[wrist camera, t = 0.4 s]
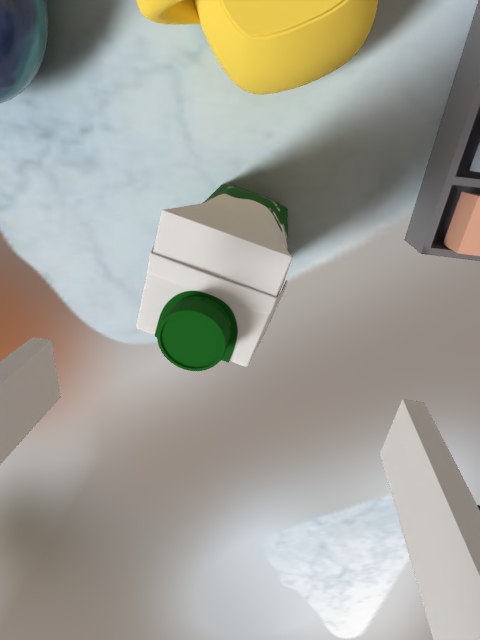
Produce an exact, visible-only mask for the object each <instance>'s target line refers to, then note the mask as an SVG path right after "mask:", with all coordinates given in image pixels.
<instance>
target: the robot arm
mask: <svg viewBox="0 0 480 640" xmlns="http://www.w3.org/2000/svg"><path fill="white" fill-rule="evenodd" d="M60 397H61V396H60V390H59V384H58V377H57V371H56V365H55V359H54V352H53V346H52V341H51V340H46V339H40V338H33V337H32V338H31V339H30V340H28V341H27V342H26V343H24V344H23V345H22V346H20V347H19V348H18V349H17V350H15V351H14V352H13V353H11V354H10V355H9V356H7V357H6V358H5V359H3V360H2V361H1V362H0V464H1V463H2V462H3V461H4V460H5V459H6V457H7V456H8V455H9V454H10V453H11V452H12V451H13V450H14V449H15V448H16V446H17V445H18V444H19V443H20V442H21V441H22V440H23V439H24V437H25V436H26V435H27V434H28V433H29V432H30V431H31V429H33V427H34V426H35V425H36V424H37V423H38V422H39V421H40V420H41V419H42V417H43V416H44V415H45V414H46V413H47V412H48V411H49V410H50V409H51V407H52V406H53V405H54V404H55V403H56V402H57V401H58V399H59V398H60ZM380 455H381V459H382V462H383V466H384V469H385V472H386V476H387V480H388V483H389V487H390V490H391V494H392V497H393V501H394V504H395V508H396V511H397V515H398V518H399V521H400V525H401V528H402V532H403V535H404V539H405V542H406V546H407V549H408V553H409V556H410V560H411V563H412V567H413V570H414V574H415V577H416V580H417V584H418V588H419V591H420V594H421V598H422V602H423V605H424V609H425V612H426V616H427V619H428V623H429V626H430V630H431V633H432V637H433V640H480V506H479V505H477V504H476V502H475V500H474V498H473V496H472V494H471V492H470V491H469V489H468V487H467V485H466V483H465V481H464V479H463V477H462V475H461V473H460V471H459V469H458V467H457V465H456V463H455V461H454V459H453V457H452V455H451V453H450V451H449V449H448V448H447V446H446V444H445V442H444V440H443V438H442V436H441V434H440V432H439V430H438V428H437V426H436V424H435V422H434V420H433V418H432V416H431V414H430V413H429V410H428V408H427V407H426V405H425V403H424V402H418V401H412V400H406V399H402V402H401V404H400V406H399V409H398V411H397V414H396V416H395V419H394V421H393V423H392V426H391V428H390V431H389V433H388V436H387V438H386V440H385V443H384V445H383V448H382V450H381V452H380Z"/></svg>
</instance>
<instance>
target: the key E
mask: <svg viewBox="0 0 480 640" xmlns="http://www.w3.org/2000/svg"><path fill="white" fill-rule="evenodd" d="M443 244H444V245H445V246H447V247H448V248H450V249H451V250H453V251H454V252H456V253H459V254H467V255H475V256H480V194H478V193H469V192H461V195H460V198H459V201H458V203H457V206H456V209H455V212H454V214H453V217H452V220H451V223H450V225H449V228H448V231H447V234H446V237H445V239H444V242H443Z"/></svg>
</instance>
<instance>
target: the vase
mask: <svg viewBox="0 0 480 640" xmlns="http://www.w3.org/2000/svg"><path fill="white" fill-rule="evenodd" d="M47 37H48V11H47V5H46V0H0V104H1V103H3V102H6V101H8V100H11V99H12V98H14V97H15V96H17V95H18V94H20V93H21V92H22V91H23V90H24V89H25V88H26V87H27V86H28V85H29V84H30V83H31V82H32V80H33V79H34V77H35V76H36V74H37V72H38V71H39V68H40V66H41V63H42V61H43V58H44V54H45V50H46V46H47Z"/></svg>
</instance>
